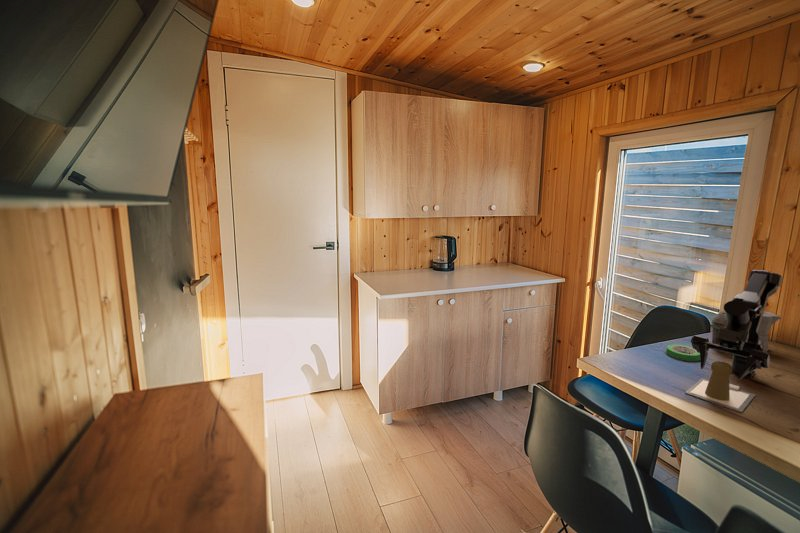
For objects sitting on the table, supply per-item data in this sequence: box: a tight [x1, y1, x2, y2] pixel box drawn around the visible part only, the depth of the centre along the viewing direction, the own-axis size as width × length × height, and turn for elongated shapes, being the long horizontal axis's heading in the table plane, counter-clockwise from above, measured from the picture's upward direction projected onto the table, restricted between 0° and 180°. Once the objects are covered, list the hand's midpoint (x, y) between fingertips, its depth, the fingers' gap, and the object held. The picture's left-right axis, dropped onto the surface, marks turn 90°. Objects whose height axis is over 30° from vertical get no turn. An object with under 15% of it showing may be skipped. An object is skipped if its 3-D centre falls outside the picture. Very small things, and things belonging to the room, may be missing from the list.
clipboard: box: [684, 377, 756, 414], centre depth 123 cm, size 16×14×1 cm
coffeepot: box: [757, 310, 783, 352], centre depth 158 cm, size 15×9×18 cm, turn 45°
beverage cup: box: [711, 312, 727, 344], centre depth 155 cm, size 7×7×20 cm
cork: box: [705, 360, 733, 401], centre depth 120 cm, size 6×6×11 cm
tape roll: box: [665, 344, 700, 362], centre depth 152 cm, size 11×11×3 cm
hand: (719, 373), depth 118 cm, fingers open, 9 cm apart
